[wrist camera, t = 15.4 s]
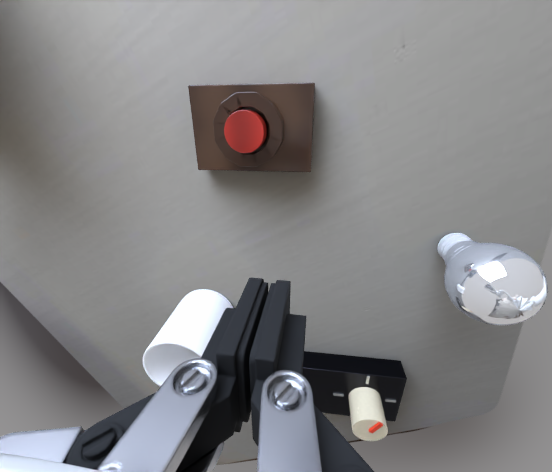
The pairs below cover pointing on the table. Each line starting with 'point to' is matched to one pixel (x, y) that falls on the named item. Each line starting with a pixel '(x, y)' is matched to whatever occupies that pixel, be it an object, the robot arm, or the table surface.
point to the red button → (245, 131)
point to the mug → (184, 333)
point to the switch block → (275, 112)
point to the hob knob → (367, 414)
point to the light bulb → (492, 280)
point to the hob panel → (352, 381)
